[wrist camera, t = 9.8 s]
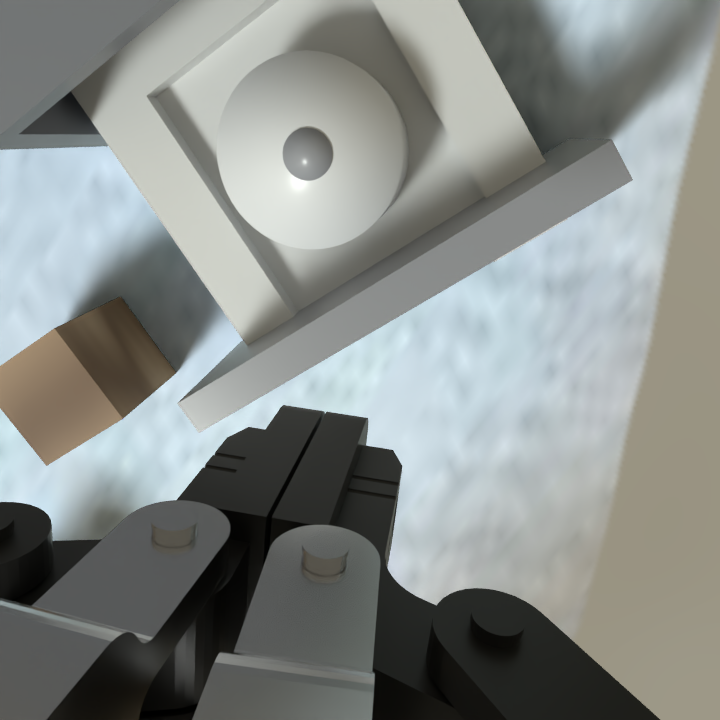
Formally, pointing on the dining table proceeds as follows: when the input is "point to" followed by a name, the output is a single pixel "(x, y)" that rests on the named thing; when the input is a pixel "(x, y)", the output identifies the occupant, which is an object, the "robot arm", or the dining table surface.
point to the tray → (389, 233)
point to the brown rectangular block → (81, 379)
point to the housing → (60, 64)
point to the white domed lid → (311, 149)
